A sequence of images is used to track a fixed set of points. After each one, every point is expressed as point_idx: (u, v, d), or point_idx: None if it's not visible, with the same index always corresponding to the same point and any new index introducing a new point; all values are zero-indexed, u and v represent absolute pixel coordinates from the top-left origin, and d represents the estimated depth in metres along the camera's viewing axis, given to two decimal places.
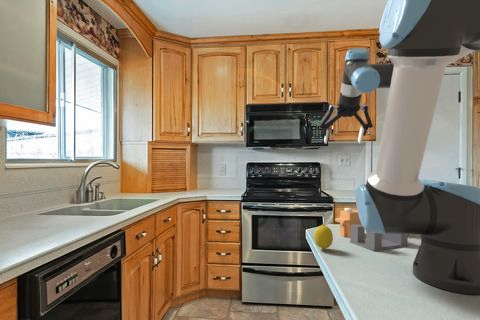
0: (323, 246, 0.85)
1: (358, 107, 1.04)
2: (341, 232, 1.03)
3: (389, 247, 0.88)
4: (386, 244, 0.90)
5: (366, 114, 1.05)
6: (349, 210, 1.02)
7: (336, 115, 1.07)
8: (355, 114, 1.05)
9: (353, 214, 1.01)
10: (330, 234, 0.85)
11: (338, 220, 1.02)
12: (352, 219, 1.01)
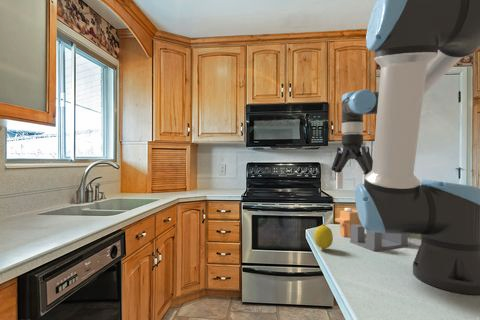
0: (323, 246, 0.85)
1: (356, 148, 1.00)
2: (341, 232, 1.03)
3: (389, 247, 0.88)
4: (386, 244, 0.90)
5: (363, 155, 0.97)
6: (349, 210, 1.02)
7: None
8: (353, 155, 1.01)
9: (353, 214, 1.01)
10: (330, 234, 0.85)
11: (338, 220, 1.02)
12: (352, 219, 1.01)
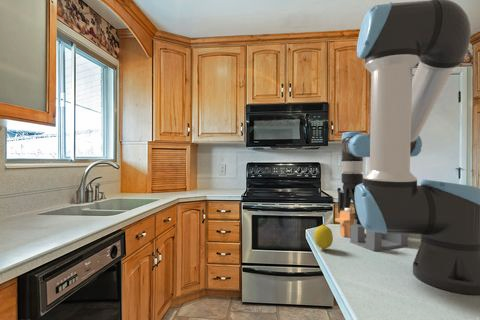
0: (323, 246, 0.85)
1: None
2: (341, 232, 1.03)
3: (389, 247, 0.88)
4: (386, 244, 0.90)
5: None
6: (349, 210, 1.02)
7: None
8: (352, 195, 1.02)
9: (353, 214, 1.01)
10: (330, 234, 0.85)
11: (338, 220, 1.02)
12: (352, 219, 1.01)
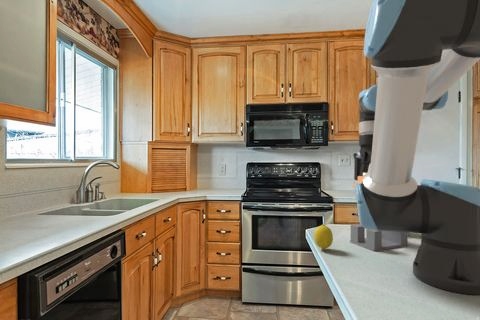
0: (323, 246, 0.85)
1: None
2: None
3: (389, 247, 0.88)
4: (386, 244, 0.90)
5: None
6: None
7: None
8: None
9: None
10: (330, 234, 0.85)
11: None
12: None
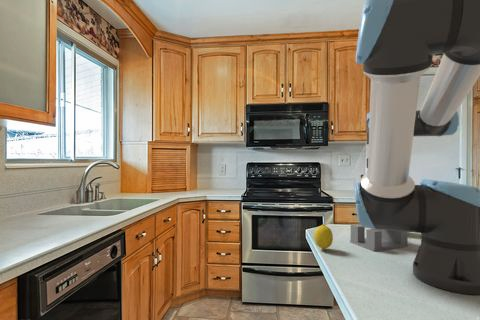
0: (323, 246, 0.85)
1: None
2: None
3: (389, 247, 0.88)
4: (386, 244, 0.90)
5: None
6: None
7: None
8: None
9: None
10: (330, 234, 0.85)
11: None
12: None
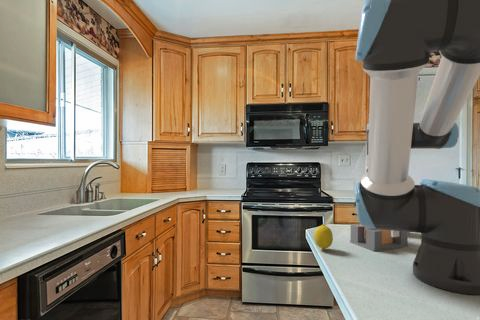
0: (323, 246, 0.85)
1: None
2: None
3: (389, 247, 0.88)
4: (386, 244, 0.90)
5: None
6: None
7: None
8: None
9: None
10: (330, 234, 0.85)
11: None
12: None
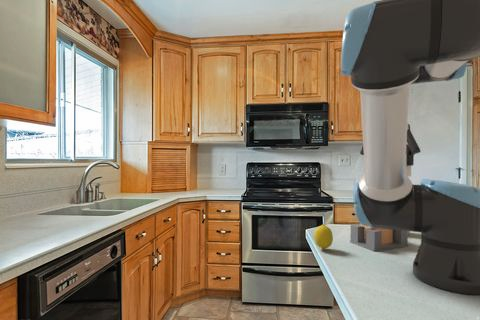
0: (323, 246, 0.85)
1: None
2: None
3: (389, 247, 0.88)
4: (386, 244, 0.90)
5: None
6: None
7: None
8: None
9: None
10: (330, 234, 0.85)
11: None
12: None
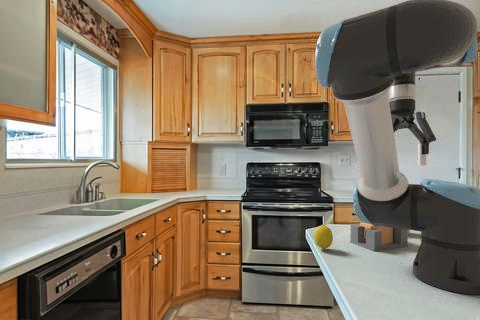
0: (323, 246, 0.85)
1: (409, 114, 0.86)
2: None
3: (389, 247, 0.88)
4: (386, 244, 0.90)
5: (419, 122, 0.83)
6: None
7: None
8: (405, 123, 0.87)
9: None
10: (330, 234, 0.85)
11: (363, 225, 0.91)
12: None
